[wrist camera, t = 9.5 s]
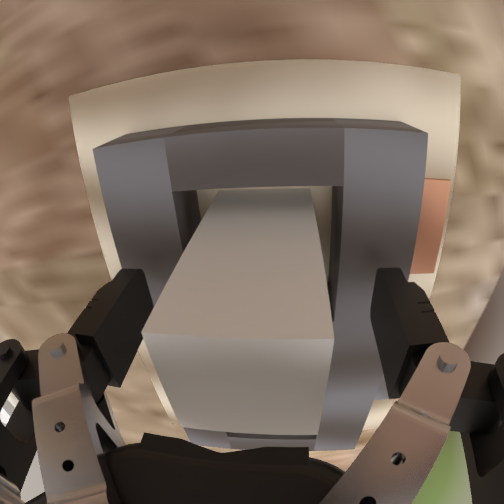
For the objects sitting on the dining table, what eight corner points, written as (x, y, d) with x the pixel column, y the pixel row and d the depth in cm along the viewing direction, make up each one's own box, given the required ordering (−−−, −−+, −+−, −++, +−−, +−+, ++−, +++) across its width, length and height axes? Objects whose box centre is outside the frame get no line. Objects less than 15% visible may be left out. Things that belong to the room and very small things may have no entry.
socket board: (79, 94, 13) (28, 105, 10) (450, 74, 11) (497, 77, 8) (175, 415, 26) (164, 451, 23) (379, 419, 24) (384, 457, 20)
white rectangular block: (219, 190, 14) (141, 332, 7) (310, 188, 14) (334, 338, 6) (227, 266, 16) (180, 426, 9) (308, 267, 16) (317, 434, 8)
